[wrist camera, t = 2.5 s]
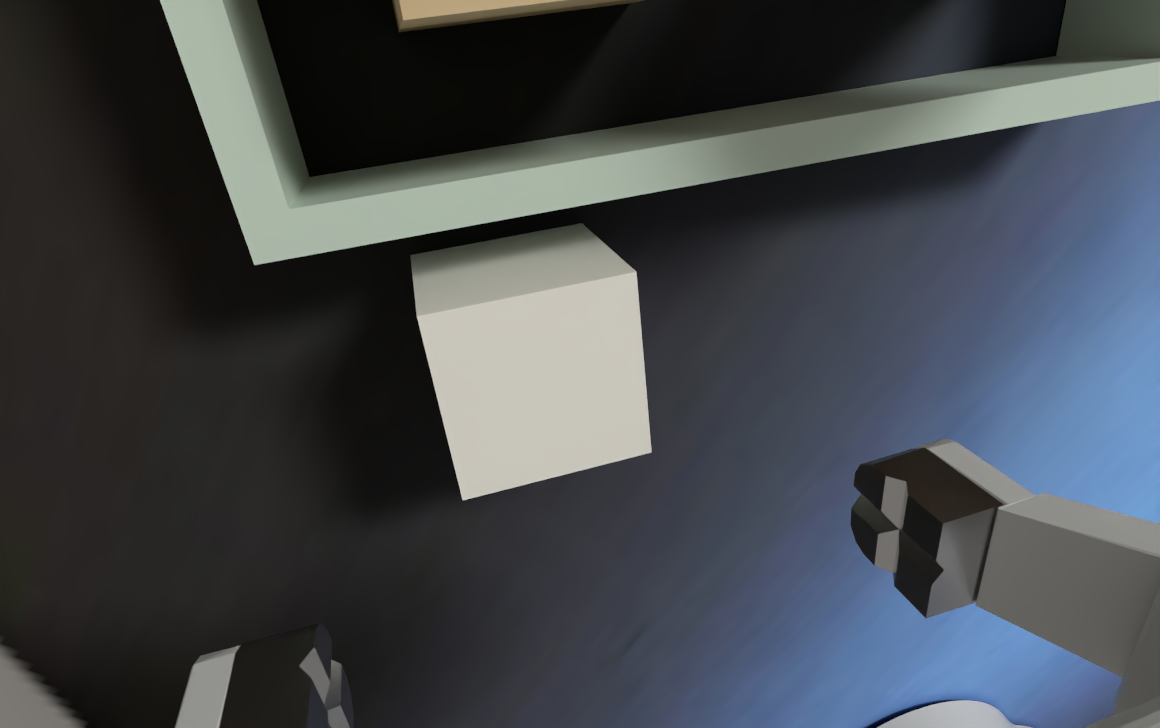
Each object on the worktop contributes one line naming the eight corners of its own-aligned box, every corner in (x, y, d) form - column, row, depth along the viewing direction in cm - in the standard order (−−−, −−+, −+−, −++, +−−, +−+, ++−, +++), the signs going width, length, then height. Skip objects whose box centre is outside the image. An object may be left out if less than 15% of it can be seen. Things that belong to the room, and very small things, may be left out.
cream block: (598, 371, 22) (651, 452, 17) (447, 406, 21) (462, 500, 16) (581, 222, 20) (636, 271, 15) (410, 254, 19) (416, 316, 14)
